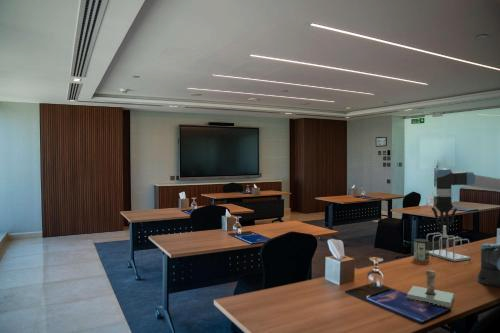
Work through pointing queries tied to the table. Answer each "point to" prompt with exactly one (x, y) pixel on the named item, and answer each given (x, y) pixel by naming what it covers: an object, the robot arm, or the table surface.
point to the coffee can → (421, 249)
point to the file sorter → (446, 254)
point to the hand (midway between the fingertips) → (444, 237)
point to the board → (438, 298)
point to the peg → (430, 281)
